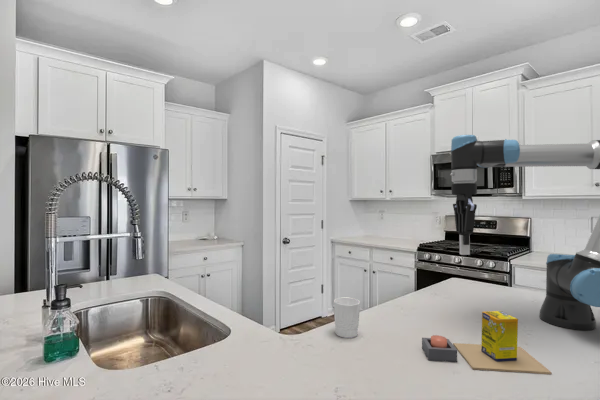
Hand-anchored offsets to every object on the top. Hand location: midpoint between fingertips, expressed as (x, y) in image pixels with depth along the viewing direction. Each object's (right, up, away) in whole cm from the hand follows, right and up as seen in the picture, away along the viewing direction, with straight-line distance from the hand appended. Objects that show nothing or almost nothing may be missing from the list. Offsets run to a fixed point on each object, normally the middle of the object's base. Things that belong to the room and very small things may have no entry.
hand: (464, 254), depth 113 cm
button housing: (-17, -23, -22) cm, 36 cm away
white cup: (-40, -23, -8) cm, 47 cm away
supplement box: (-2, -23, -23) cm, 33 cm away
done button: (-17, -22, -22) cm, 36 cm away
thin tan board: (-2, -24, -23) cm, 33 cm away
